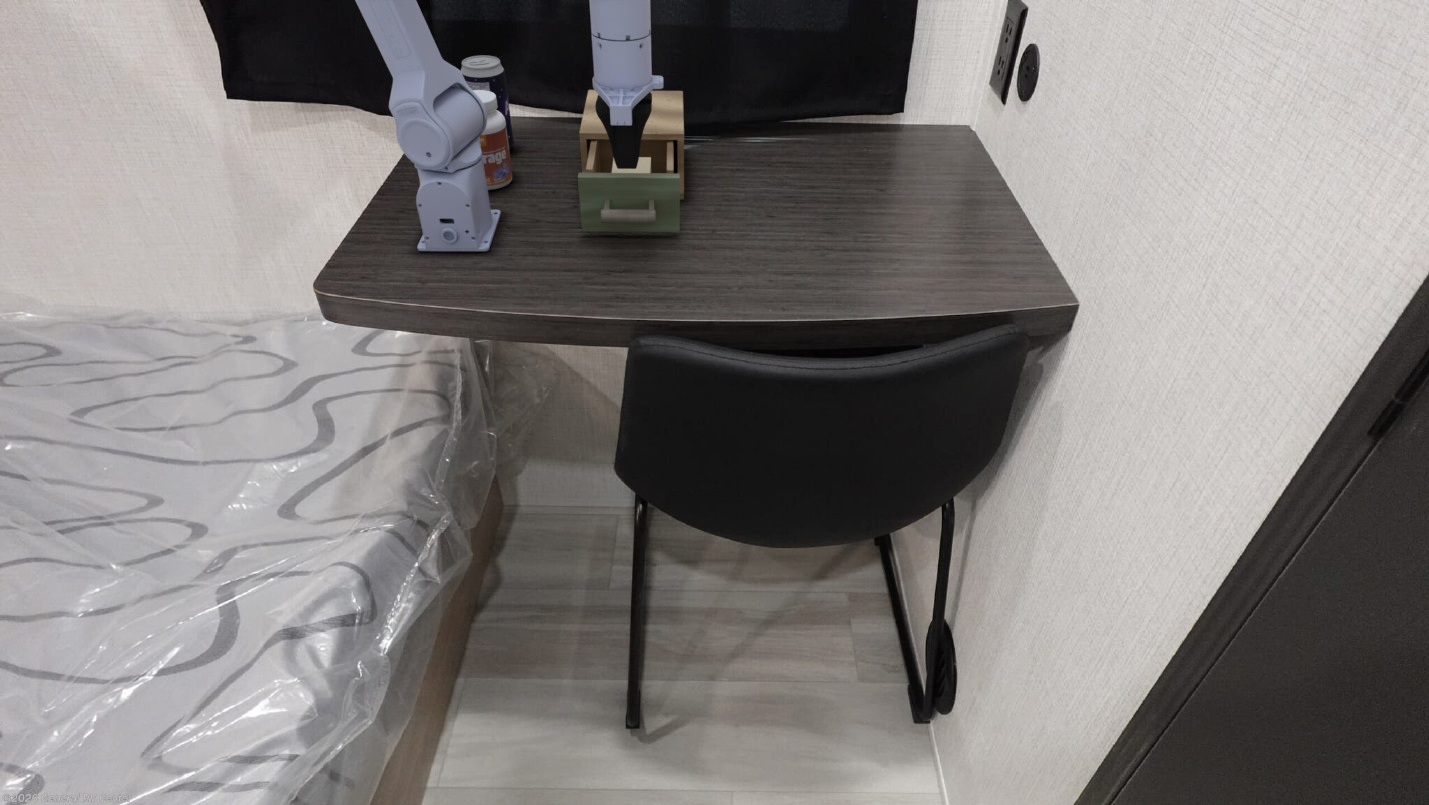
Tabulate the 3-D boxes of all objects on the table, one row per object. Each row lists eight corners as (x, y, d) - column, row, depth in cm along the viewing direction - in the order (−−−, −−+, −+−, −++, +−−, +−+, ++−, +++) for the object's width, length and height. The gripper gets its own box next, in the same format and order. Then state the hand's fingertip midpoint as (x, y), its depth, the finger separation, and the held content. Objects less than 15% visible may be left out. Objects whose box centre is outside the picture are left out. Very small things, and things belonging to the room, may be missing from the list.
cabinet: (683, 199, 106) (684, 133, 101) (584, 198, 106) (579, 132, 100) (682, 152, 118) (682, 90, 112) (592, 151, 117) (588, 89, 112)
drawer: (680, 250, 95) (680, 194, 90) (578, 249, 94) (574, 194, 90) (678, 181, 108) (678, 130, 104) (590, 180, 108) (586, 129, 103)
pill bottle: (469, 195, 106) (454, 108, 99) (460, 175, 110) (445, 90, 103) (518, 187, 108) (507, 101, 101) (507, 168, 112) (496, 84, 105)
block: (651, 208, 100) (650, 173, 97) (613, 208, 100) (611, 172, 97) (651, 191, 103) (651, 156, 101) (615, 191, 103) (613, 156, 100)
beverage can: (518, 155, 115) (506, 66, 108) (476, 160, 114) (462, 70, 106) (510, 139, 119) (498, 52, 112) (469, 144, 118) (455, 56, 110)
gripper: (662, 57, 75) (664, 196, 84) (662, 11, 86) (664, 138, 95) (583, 56, 75) (593, 196, 84) (593, 10, 86) (601, 138, 95)
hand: (626, 166), depth 89 cm, fingers closed
